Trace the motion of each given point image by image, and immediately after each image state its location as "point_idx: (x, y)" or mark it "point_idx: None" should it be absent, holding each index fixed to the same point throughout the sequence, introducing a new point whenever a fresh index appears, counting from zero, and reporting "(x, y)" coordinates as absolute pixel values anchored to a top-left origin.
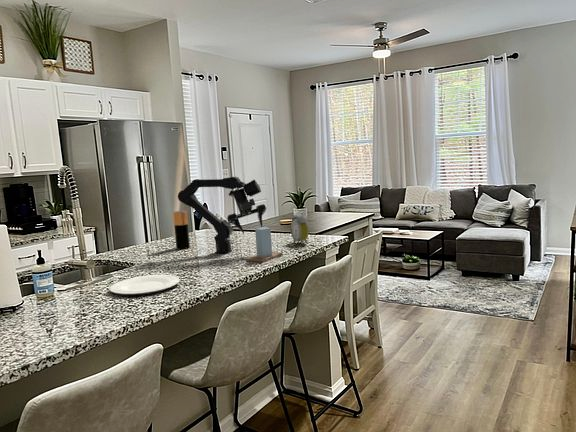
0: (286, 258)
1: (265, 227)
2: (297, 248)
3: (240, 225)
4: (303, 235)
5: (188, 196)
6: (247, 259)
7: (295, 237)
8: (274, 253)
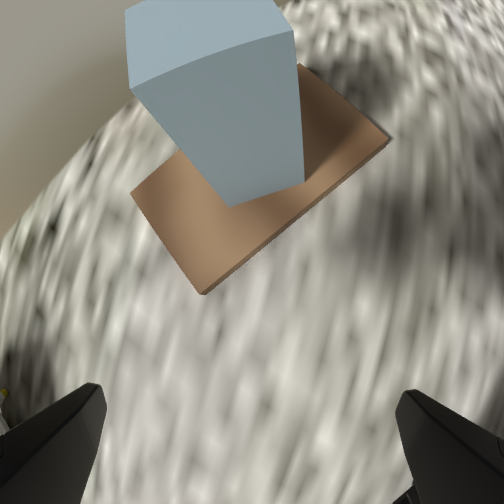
0: None
1: (133, 63)
2: (32, 332)
3: (487, 453)
4: None
5: None
6: (379, 131)
7: None
8: (176, 195)
